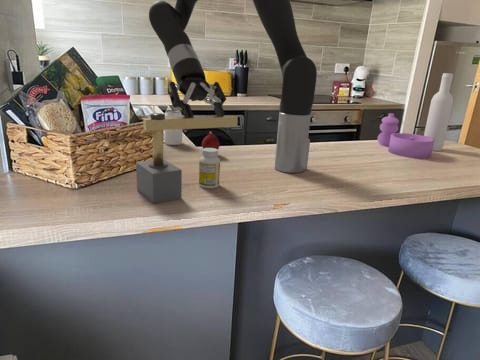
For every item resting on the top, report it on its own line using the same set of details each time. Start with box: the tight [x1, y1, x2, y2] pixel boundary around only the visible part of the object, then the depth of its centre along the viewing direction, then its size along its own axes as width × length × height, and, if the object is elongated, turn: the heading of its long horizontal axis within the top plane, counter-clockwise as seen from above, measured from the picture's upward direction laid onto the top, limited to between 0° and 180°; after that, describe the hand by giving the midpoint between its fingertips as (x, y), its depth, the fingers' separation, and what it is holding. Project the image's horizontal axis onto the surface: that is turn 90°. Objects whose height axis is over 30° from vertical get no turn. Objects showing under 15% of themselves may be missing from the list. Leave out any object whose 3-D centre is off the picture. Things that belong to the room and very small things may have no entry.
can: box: [163, 109, 183, 146], centre depth 139 cm, size 6×6×12 cm
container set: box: [377, 112, 434, 160], centre depth 149 cm, size 25×15×13 cm, turn 18°
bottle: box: [423, 72, 454, 152], centre depth 152 cm, size 8×8×30 cm
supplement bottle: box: [198, 148, 221, 189], centre depth 98 cm, size 5×5×10 cm
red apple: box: [201, 131, 221, 151], centre depth 127 cm, size 6×6×8 cm
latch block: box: [135, 159, 183, 204], centre depth 90 cm, size 7×10×7 cm
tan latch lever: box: [142, 112, 239, 167], centre depth 91 cm, size 23×3×12 cm, turn 119°
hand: (206, 118), depth 94 cm, fingers open, 8 cm apart
